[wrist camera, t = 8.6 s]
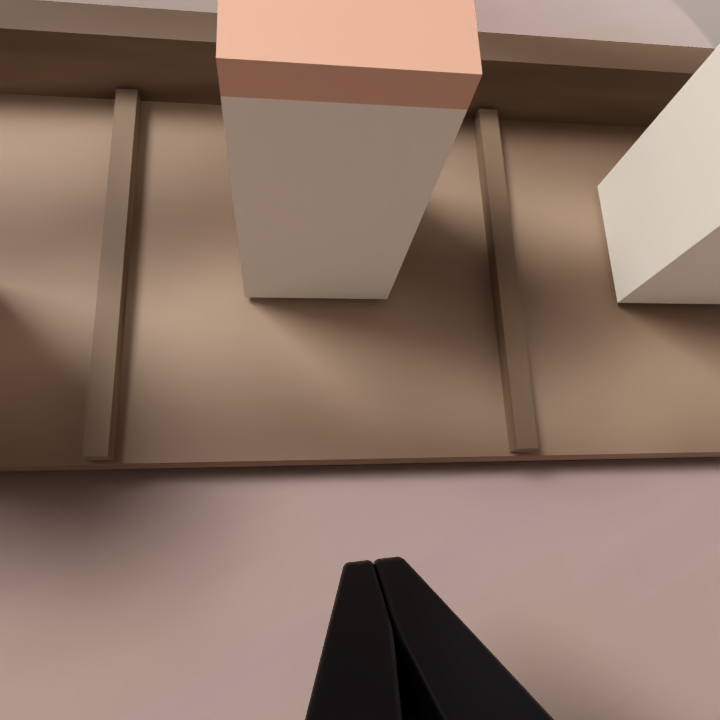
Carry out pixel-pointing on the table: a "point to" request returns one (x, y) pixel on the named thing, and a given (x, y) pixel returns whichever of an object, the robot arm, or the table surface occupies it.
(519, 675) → the table surface
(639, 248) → the white tall block
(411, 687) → the robot arm
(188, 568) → the table surface
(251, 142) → the peach block
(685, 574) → the table surface
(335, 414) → the brown divided rack
